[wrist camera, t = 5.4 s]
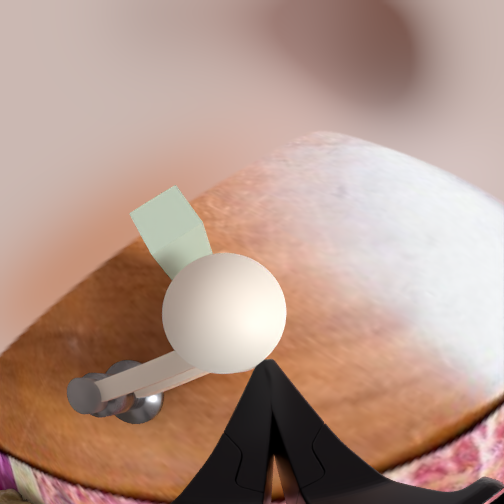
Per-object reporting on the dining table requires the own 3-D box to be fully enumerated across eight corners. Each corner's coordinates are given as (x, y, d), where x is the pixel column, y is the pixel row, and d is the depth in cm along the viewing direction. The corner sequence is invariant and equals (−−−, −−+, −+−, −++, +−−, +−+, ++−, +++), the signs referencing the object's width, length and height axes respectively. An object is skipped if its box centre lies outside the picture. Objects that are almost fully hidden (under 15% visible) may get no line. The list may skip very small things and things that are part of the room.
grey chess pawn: (134, 434, 14) (98, 449, 10) (95, 385, 15) (52, 384, 11) (177, 396, 16) (150, 404, 11) (133, 347, 17) (96, 337, 12)
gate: (130, 417, 14) (15, 441, 5) (112, 374, 16) (-9, 357, 6) (275, 358, 16) (308, 338, 7) (252, 313, 18) (251, 235, 8)
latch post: (244, 302, 18) (236, 226, 9) (199, 333, 17) (141, 287, 8) (214, 261, 19) (184, 162, 10) (171, 289, 19) (105, 210, 9)
